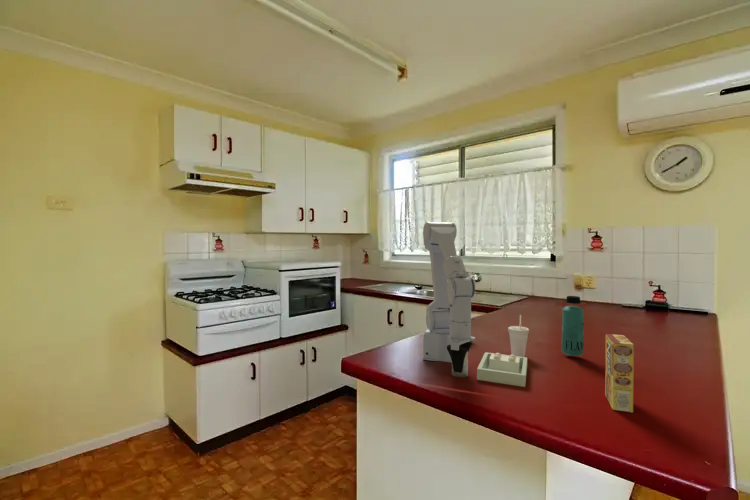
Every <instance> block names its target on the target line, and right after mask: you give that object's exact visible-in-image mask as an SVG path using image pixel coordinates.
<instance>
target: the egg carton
mask: <svg viewBox="0 0 750 500" xmlns="http://www.w3.org/2000/svg"><path fill="white" fill-rule="evenodd" d="M508 355H509V356H502V355H501V353H500V352H496V353H495V355H494V354H491V356H490V359H489V369H491V370H499V371H506V372H513V373H519V369H520V358H518V357H515V355H512V354H508Z"/></svg>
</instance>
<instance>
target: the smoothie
mask: <svg viewBox="0 0 750 500" xmlns="http://www.w3.org/2000/svg"><path fill="white" fill-rule="evenodd" d="M507 331H508V334H509V342H510V352H511V355H515V356H520V357H525V355H526V349H527V343H528V335H529V333H530V329H529V328H528V327H526V326H522V314H519V325H510V326H508V327H507Z"/></svg>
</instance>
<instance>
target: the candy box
mask: <svg viewBox="0 0 750 500" xmlns="http://www.w3.org/2000/svg"><path fill="white" fill-rule="evenodd" d="M604 348H605V349H604V350H605V352H604V354H605V358H604V359H605V367H604V369H605V374H604V375H605V377H604V378H605V379H604V380H605V382H604V383H605V385H604V388H605V389H604V396H605V398H606V399H607V401H608V403H609V405H610V407H611V409H612V410H613V411H617V412H618V411H619V412H627V413H634V375H635V372H634V371H635V370H634V367H635V365H634V363H635V361H634V359H635V344H634V343H633V342H632V341H631V340H630V339H629V338H627V337H626V336H625V335H623V334H612V333H606V334H605V347H604Z"/></svg>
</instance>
